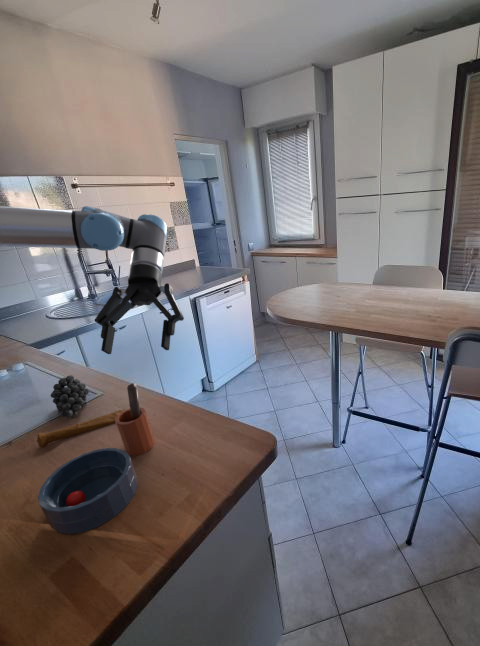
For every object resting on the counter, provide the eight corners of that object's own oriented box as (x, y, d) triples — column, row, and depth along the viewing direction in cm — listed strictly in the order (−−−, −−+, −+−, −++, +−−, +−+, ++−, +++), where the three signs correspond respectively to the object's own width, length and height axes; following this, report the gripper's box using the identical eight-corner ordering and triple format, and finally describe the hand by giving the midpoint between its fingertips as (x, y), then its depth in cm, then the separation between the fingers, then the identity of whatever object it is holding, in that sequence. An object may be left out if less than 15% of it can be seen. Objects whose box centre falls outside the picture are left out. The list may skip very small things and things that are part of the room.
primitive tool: (126, 410, 90) (122, 399, 88) (130, 419, 86) (127, 408, 84) (39, 443, 80) (34, 431, 78) (40, 456, 75) (34, 444, 74)
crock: (120, 456, 73) (108, 423, 70) (137, 438, 79) (126, 406, 75) (144, 458, 72) (133, 425, 69) (160, 439, 78) (150, 407, 74)
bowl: (30, 531, 58) (16, 506, 55) (91, 467, 71) (82, 445, 69) (103, 541, 55) (92, 515, 53) (153, 473, 68) (146, 450, 66)
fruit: (68, 392, 83) (74, 366, 95) (35, 411, 81) (45, 382, 93) (91, 415, 87) (94, 388, 100) (60, 433, 85) (67, 403, 98)
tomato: (65, 511, 60) (59, 499, 59) (77, 498, 63) (72, 486, 62) (79, 513, 60) (73, 501, 59) (91, 499, 62) (86, 487, 61)
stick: (134, 447, 75) (124, 385, 68) (138, 442, 76) (130, 381, 69) (141, 449, 75) (132, 387, 68) (146, 443, 76) (138, 382, 69)
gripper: (200, 275, 87) (195, 351, 79) (106, 282, 88) (92, 358, 80) (190, 258, 80) (183, 340, 72) (88, 266, 81) (70, 348, 73)
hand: (135, 350), depth 76 cm, fingers open, 13 cm apart
